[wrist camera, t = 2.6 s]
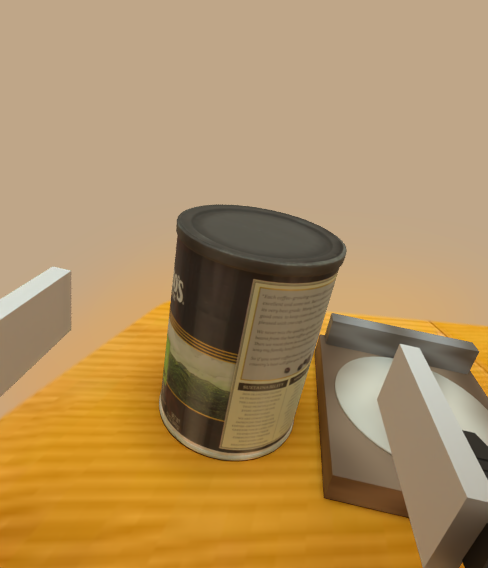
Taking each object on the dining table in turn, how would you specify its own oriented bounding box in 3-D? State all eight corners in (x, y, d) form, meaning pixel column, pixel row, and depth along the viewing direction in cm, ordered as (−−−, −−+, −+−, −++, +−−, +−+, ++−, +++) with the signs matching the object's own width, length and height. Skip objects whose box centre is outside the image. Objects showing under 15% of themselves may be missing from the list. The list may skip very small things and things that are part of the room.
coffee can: (138, 445, 25) (154, 238, 19) (177, 354, 35) (196, 195, 29) (297, 477, 25) (361, 278, 19) (293, 376, 34) (336, 221, 29)
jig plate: (458, 382, 38) (477, 343, 36) (557, 551, 23) (598, 501, 22) (314, 351, 39) (326, 311, 37) (324, 497, 24) (344, 444, 22)
